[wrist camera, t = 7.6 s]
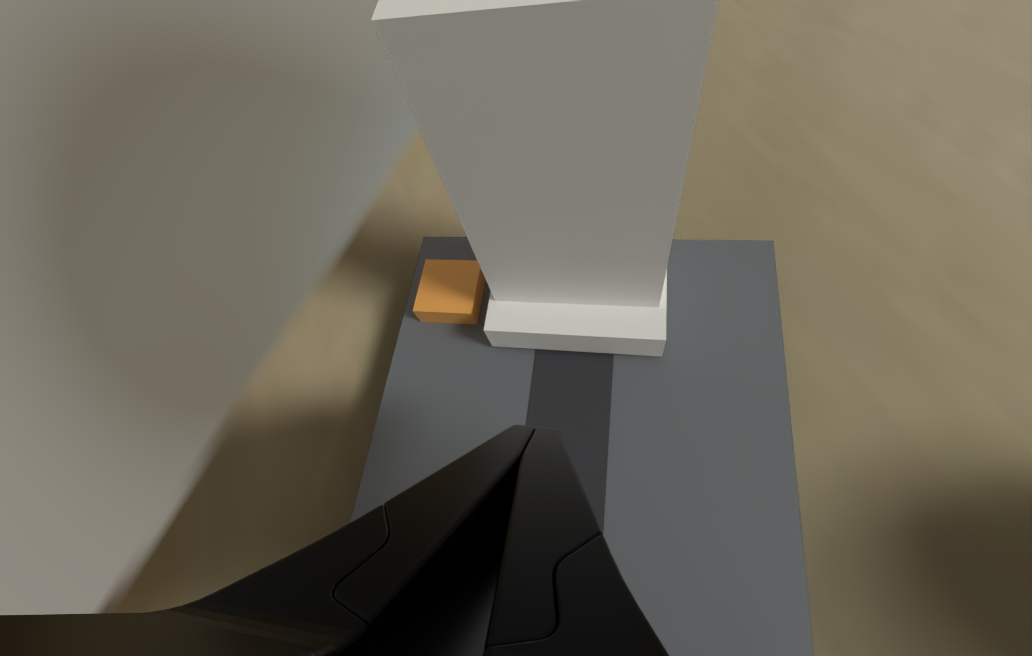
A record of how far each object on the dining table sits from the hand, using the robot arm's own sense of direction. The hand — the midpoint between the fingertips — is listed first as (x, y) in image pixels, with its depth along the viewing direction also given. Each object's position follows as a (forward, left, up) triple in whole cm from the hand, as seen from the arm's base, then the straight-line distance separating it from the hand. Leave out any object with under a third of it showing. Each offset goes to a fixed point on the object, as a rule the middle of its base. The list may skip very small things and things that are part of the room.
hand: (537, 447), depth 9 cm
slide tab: (+5, +3, -5) cm, 8 cm away
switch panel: (0, 0, -6) cm, 7 cm away
